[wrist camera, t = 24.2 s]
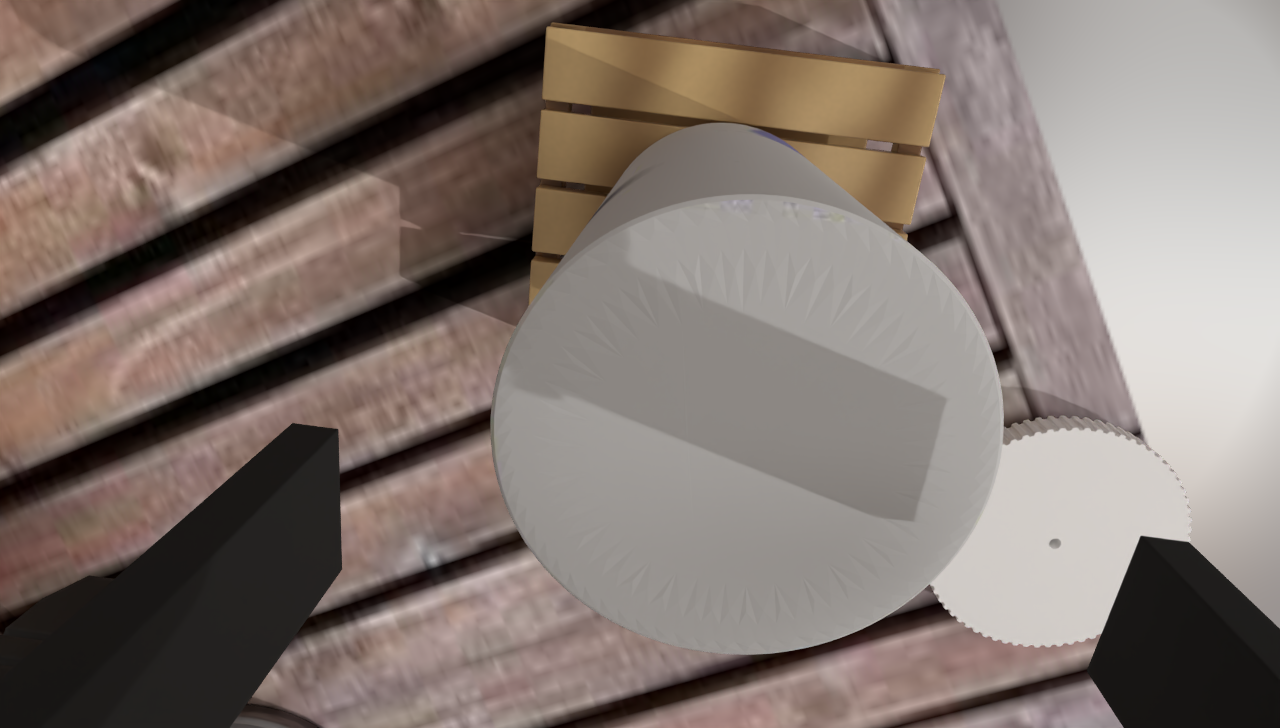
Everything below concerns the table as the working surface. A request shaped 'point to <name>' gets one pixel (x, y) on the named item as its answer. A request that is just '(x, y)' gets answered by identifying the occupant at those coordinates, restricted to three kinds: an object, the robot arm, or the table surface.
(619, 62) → the rack
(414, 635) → the table surface
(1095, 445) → the plastic lid
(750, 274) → the container
